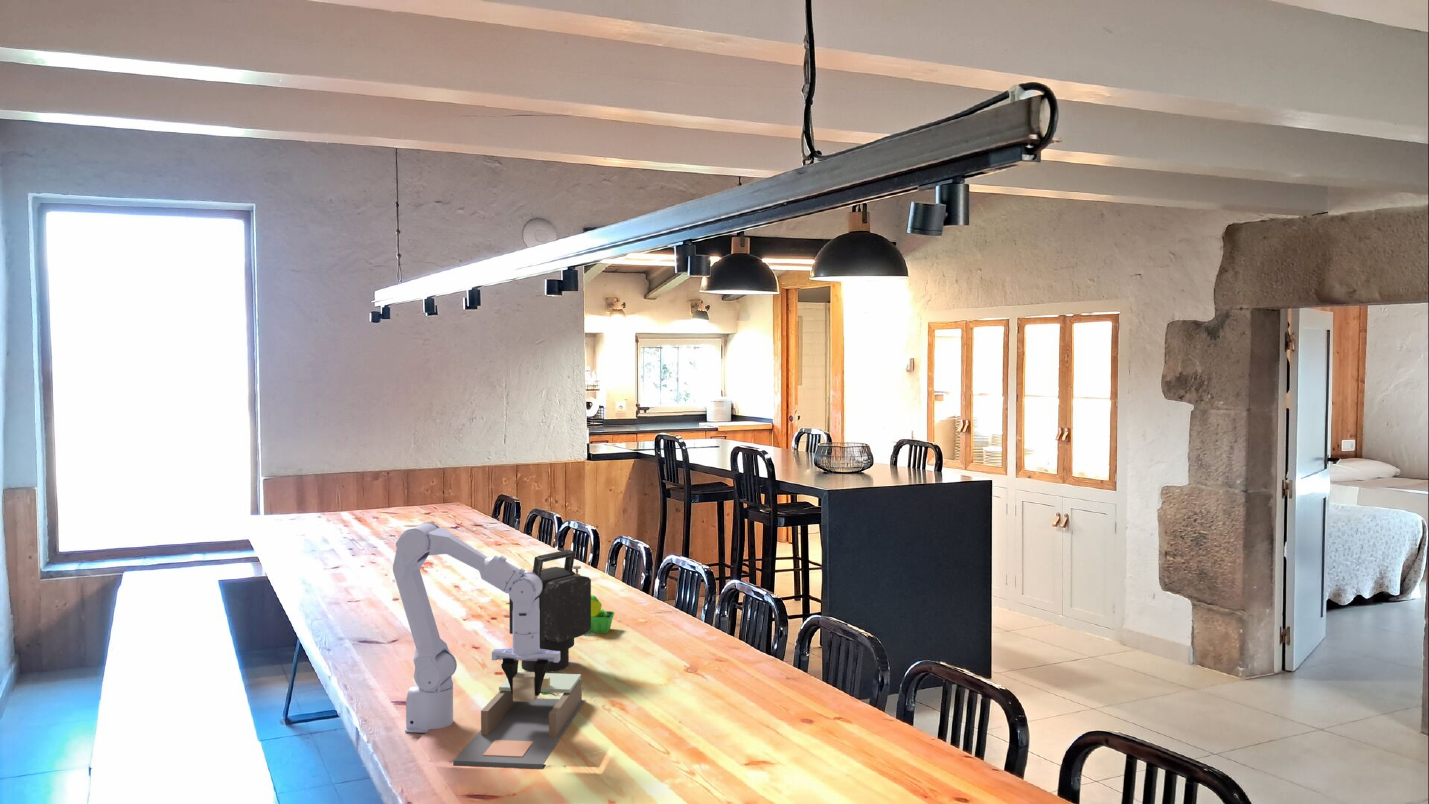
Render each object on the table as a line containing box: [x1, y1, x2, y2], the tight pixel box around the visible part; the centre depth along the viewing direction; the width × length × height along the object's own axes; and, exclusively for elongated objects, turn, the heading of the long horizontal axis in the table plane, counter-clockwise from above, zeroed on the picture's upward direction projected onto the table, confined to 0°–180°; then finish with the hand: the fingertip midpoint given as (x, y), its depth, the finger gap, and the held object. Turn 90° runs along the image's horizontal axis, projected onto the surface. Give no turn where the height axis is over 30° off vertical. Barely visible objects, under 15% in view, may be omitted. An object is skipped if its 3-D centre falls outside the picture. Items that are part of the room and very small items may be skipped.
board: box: [452, 677, 586, 770], centre depth 216 cm, size 18×38×6 cm, turn 175°
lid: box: [498, 671, 582, 694], centre depth 229 cm, size 16×11×3 cm
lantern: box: [508, 549, 592, 673], centre depth 263 cm, size 15×18×30 cm
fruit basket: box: [587, 594, 615, 634], centre depth 299 cm, size 11×9×11 cm
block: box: [513, 671, 540, 702], centre depth 217 cm, size 4×4×5 cm
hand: (526, 693), depth 217 cm, fingers closed on block, 4 cm apart
